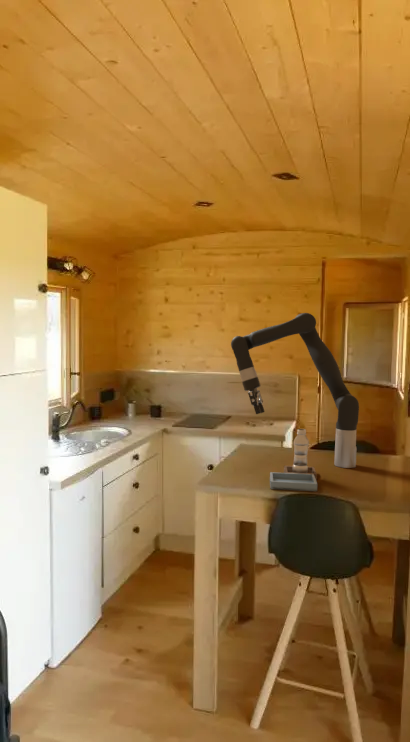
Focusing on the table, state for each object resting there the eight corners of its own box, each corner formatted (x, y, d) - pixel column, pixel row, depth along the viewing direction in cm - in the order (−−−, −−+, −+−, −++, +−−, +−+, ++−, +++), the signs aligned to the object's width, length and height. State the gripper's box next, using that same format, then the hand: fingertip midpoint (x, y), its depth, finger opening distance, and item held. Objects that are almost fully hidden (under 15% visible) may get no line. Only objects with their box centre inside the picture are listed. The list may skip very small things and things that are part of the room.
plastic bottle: (289, 474, 243) (290, 428, 241) (302, 473, 246) (304, 427, 244) (297, 478, 237) (298, 431, 235) (310, 476, 240) (312, 430, 238)
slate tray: (313, 481, 233) (313, 474, 233) (317, 491, 219) (317, 483, 219) (269, 479, 235) (270, 472, 234) (270, 489, 221) (270, 481, 220)
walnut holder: (313, 472, 247) (314, 467, 246) (316, 480, 235) (316, 474, 235) (283, 471, 248) (284, 465, 248) (285, 478, 236) (285, 472, 236)
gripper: (254, 376, 247) (265, 411, 245) (260, 376, 260) (271, 410, 258) (238, 381, 249) (249, 416, 247) (245, 381, 262) (256, 414, 260)
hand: (260, 413), depth 253 cm, fingers open, 8 cm apart
